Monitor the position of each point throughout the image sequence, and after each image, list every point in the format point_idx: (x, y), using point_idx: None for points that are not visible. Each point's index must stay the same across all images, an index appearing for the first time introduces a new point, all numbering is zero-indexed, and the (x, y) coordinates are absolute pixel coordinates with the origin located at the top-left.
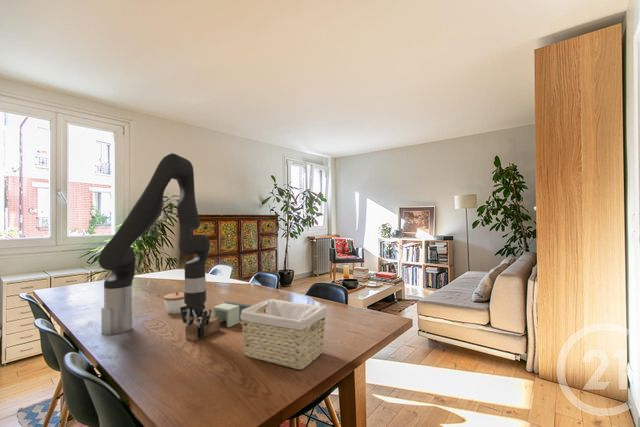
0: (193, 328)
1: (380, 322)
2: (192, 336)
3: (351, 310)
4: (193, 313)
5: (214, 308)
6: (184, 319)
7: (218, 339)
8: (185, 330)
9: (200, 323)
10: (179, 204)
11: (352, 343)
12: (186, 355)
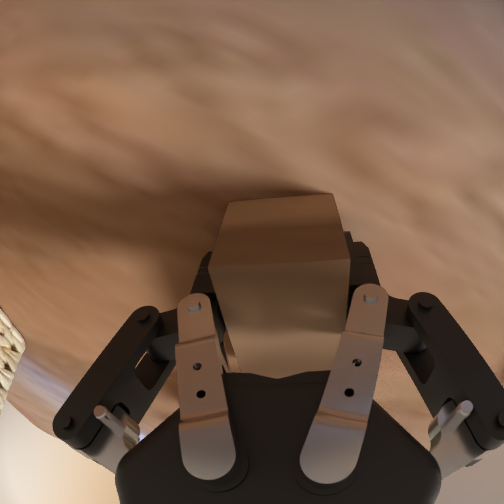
0: (217, 265)
1: (44, 424)
2: (244, 217)
3: None
4: (215, 423)
5: None
6: (422, 324)
7: (135, 288)
8: (343, 232)
9: (280, 349)
10: None
11: None
12: (46, 57)
